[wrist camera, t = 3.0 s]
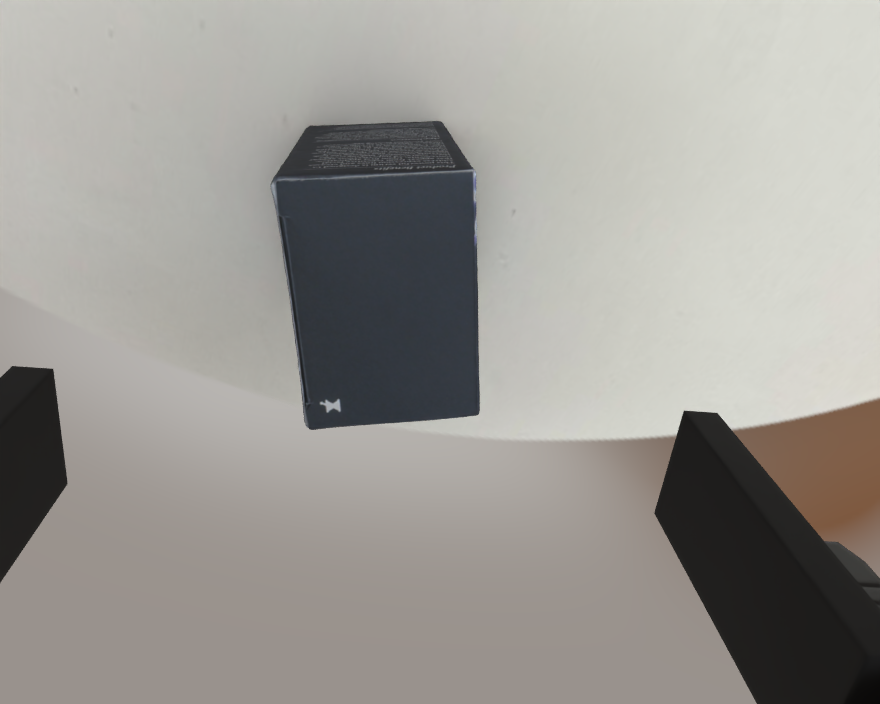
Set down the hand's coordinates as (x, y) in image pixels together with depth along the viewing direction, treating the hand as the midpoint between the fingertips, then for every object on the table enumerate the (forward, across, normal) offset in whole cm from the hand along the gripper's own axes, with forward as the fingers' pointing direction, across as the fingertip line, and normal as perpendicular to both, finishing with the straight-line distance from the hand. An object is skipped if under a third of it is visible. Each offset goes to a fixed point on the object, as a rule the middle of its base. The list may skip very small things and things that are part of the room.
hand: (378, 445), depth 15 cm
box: (+17, 0, +1) cm, 17 cm away
